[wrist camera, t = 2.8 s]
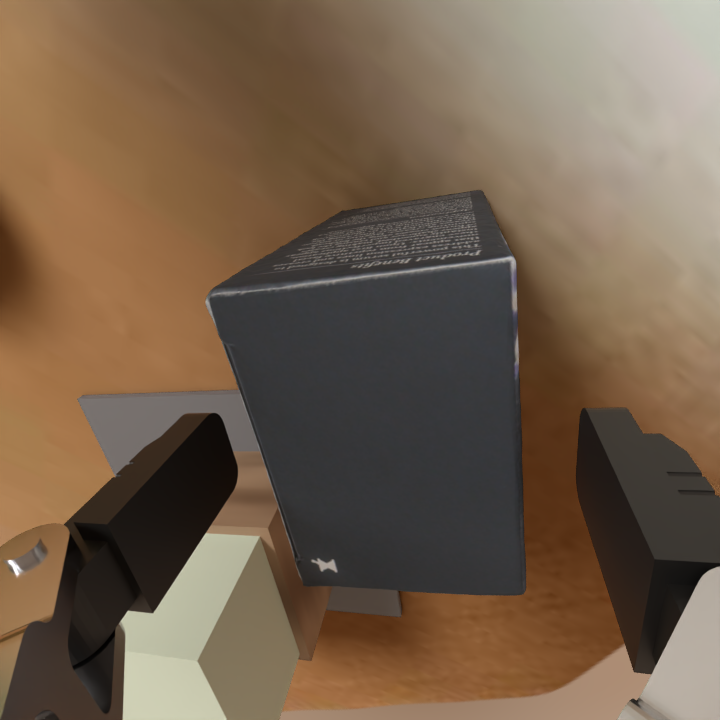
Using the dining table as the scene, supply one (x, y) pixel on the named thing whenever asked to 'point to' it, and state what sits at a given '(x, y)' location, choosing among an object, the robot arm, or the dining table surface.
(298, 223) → the dining table surface
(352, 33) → the dining table surface
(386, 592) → the mat
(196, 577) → the block top
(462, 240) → the box
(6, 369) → the dining table surface
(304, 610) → the block base
